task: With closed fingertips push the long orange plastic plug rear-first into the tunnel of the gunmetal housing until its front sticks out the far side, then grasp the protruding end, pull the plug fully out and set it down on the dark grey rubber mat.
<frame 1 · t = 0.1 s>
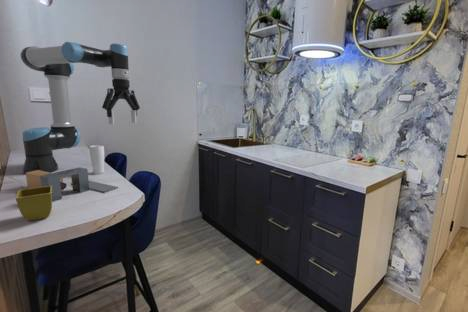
hand: (123, 123, 121), 28 cm above the table, tool pointing down, fingers open, 13 cm apart
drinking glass: (98, 173, 133), on the table
plug: (45, 189, 106), on the table
flower pot: (38, 217, 80), on the table
housing: (67, 194, 100), on the table
mat: (94, 186, 111), on the table
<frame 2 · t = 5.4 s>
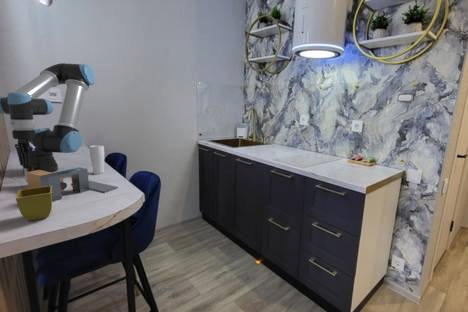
hand: (30, 181, 110), 2 cm above the table, tool pointing down, fingers closed
plug: (46, 189, 106), on the table, touching gripper
everything else where it was.
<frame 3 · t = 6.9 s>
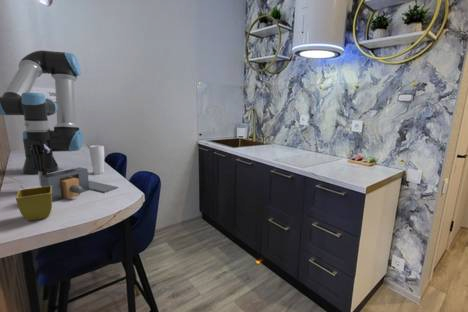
hand: (44, 185, 106), 2 cm above the table, tool pointing down, fingers closed
plug: (61, 193, 102), on the table, touching gripper
everything else where it was.
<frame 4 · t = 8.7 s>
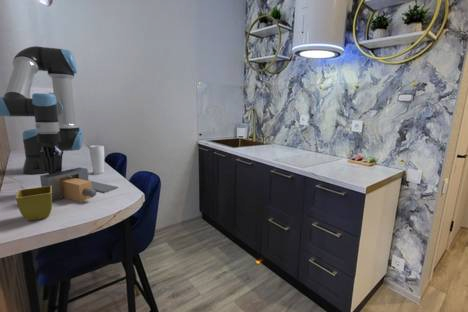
hand: (55, 187, 103), 2 cm above the table, tool pointing down, fingers closed
plug: (73, 196, 99), on the table
everything else where it was.
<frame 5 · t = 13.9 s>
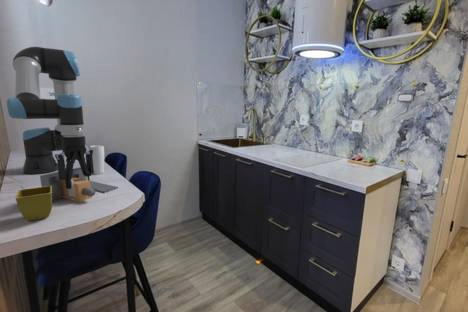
hand: (79, 193, 97), 2 cm above the table, tool pointing down, fingers closed on plug, 5 cm apart
plug: (72, 195, 99), on the table, touching gripper
everything else where it was.
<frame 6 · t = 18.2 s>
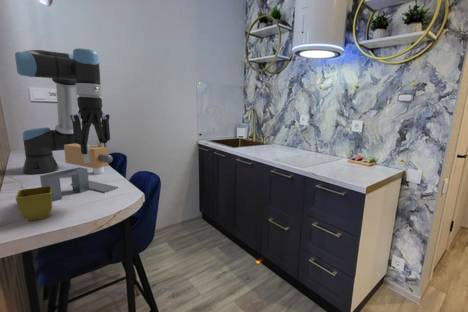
hand: (94, 161, 90), 16 cm above the table, tool pointing down, fingers closed on plug, 5 cm apart
plug: (86, 164, 92), point 15 cm above the table, touching gripper
everything else where it was.
when the fingers open (3 cm above the table, at t = 22.3 s): plug stays where it is, resting on mat.
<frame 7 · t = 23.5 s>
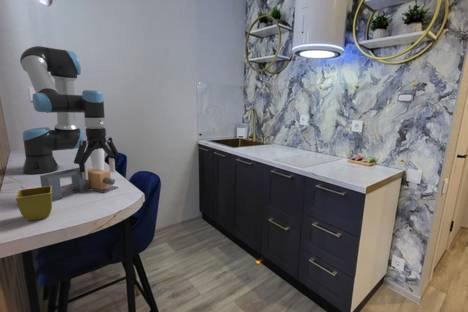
hand: (99, 175, 108), 6 cm above the table, tool pointing down, fingers open, 13 cm apart
plug: (93, 185, 111), point 1 cm above the table, touching mat
everything else where it was.
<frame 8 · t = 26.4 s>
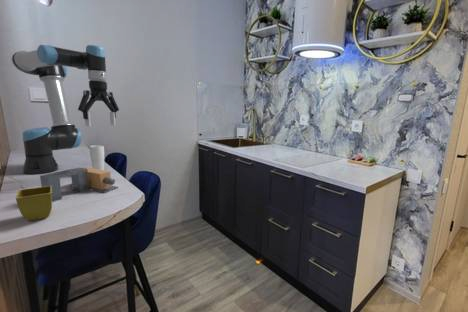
hand: (101, 125, 120), 27 cm above the table, tool pointing down, fingers open, 13 cm apart
nothing on the table moved.
at the end: plug inside the target area (0.2 cm from its centre), point 0.6 cm above the table; plug touching mat; the gripper is holding nothing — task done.
